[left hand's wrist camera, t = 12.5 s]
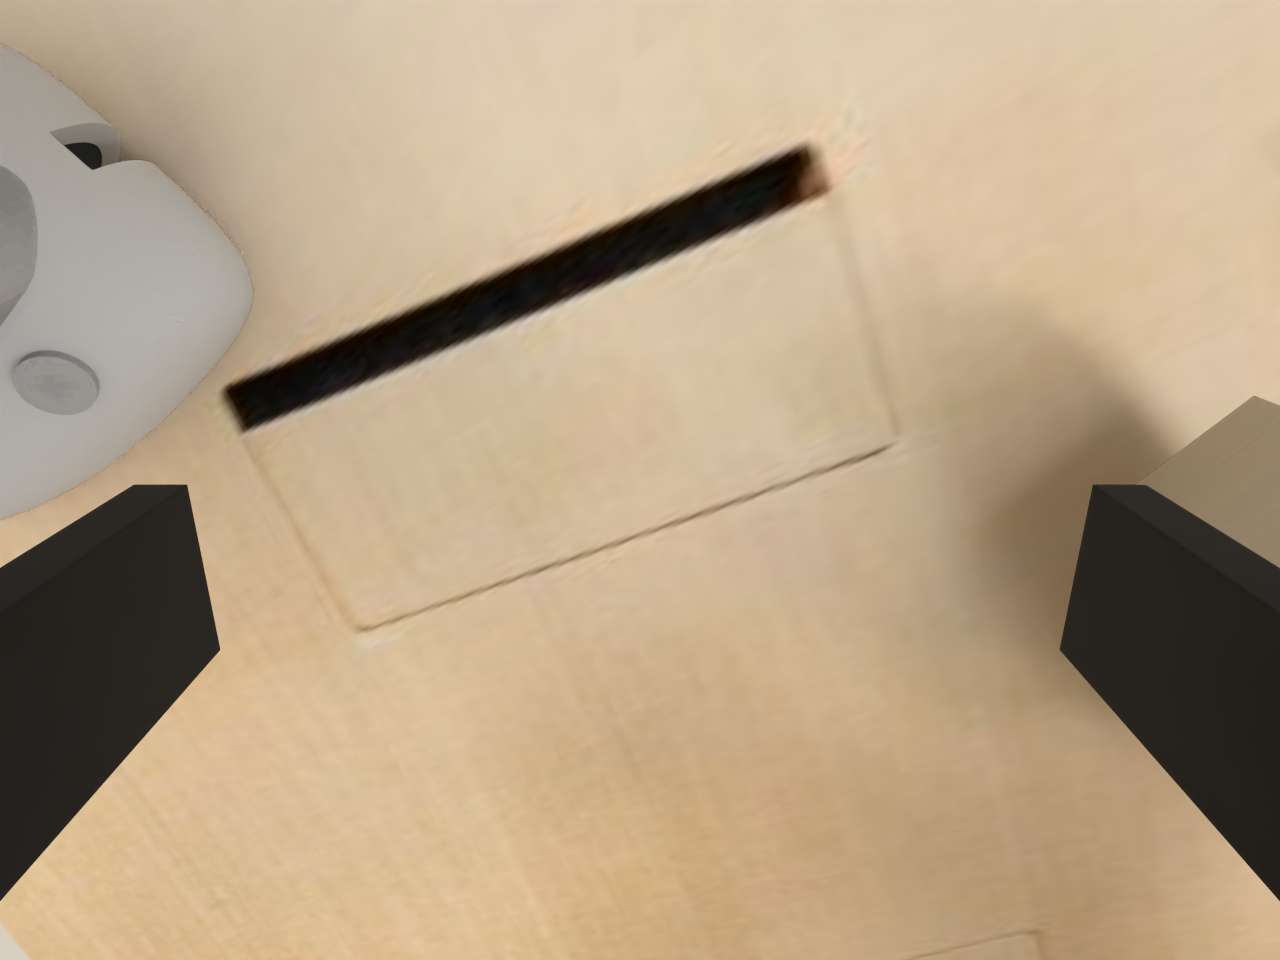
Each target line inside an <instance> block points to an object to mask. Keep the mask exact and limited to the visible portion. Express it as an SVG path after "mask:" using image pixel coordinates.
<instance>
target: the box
mask: <svg viewBox="0 0 1280 960" xmlns="http://www.w3.org/2000/svg"><path fill="white" fill-rule="evenodd" d="M1135 485H1147V486H1149V487H1150V488H1152V489H1154V490H1155V491H1157V492H1158V493H1160V494H1162V495H1163V496H1165V497H1166V498H1168V499H1170V500H1171V501H1173V502H1174V503H1176V504H1178V505H1179V506H1181V507H1183V508H1184V509H1186V510H1187V511H1189V512H1191V513H1192V514H1194V515H1195V516H1197V517H1199V518H1200V519H1202V520H1203V521H1205V522H1207V523H1208V524H1210V525H1211V526H1213V527H1215V528H1216V529H1218V530H1220V531H1221V532H1223V533H1224V534H1226V535H1228V536H1229V537H1231V538H1232V539H1234V540H1236V541H1237V542H1239V543H1240V544H1242V545H1244V546H1245V547H1247V548H1249V549H1250V550H1252V551H1253V552H1255V553H1257V554H1258V555H1260V556H1261V557H1263V558H1265V559H1266V560H1268V561H1269V562H1271V563H1273V564H1274V565H1276V566H1277V567H1279V568H1280V406H1279V405H1277V404H1274V403H1272V402H1269V401H1266V400H1264V399H1261V398H1259V397H1256V396H1253V397H1252V398H1250V399H1249V400H1248V401H1246V402H1245V403H1244V404H1242V405H1241V406H1240V407H1238V408H1237V409H1235V410H1234V411H1233V412H1231V413H1230V414H1229V415H1227V416H1226V417H1225V418H1223V419H1222V420H1221V421H1219V422H1218V423H1217V424H1215V425H1214V426H1213V427H1211V428H1210V429H1209V430H1207V431H1206V432H1205V433H1203V434H1202V435H1201V436H1199V437H1198V438H1197V439H1195V440H1194V441H1193V442H1191V443H1190V444H1189V445H1187V446H1186V447H1185V448H1183V449H1182V450H1181V451H1179V452H1178V453H1177V454H1175V455H1174V456H1173V457H1171V458H1170V459H1169V460H1167V461H1166V462H1165V463H1163V464H1162V465H1161V466H1159V467H1158V468H1157V469H1155V470H1154V471H1153V472H1151V473H1150V474H1149V475H1147V476H1146V477H1145V478H1143V479H1142V480H1141V481H1139V482H1138V483H1137V484H1135Z"/></svg>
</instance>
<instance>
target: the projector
mask: <svg viewBox="0 0 1280 960" xmlns="http://www.w3.org/2000/svg"><path fill="white" fill-rule="evenodd" d="M120 153H121V139H120V136H119V133H118V131H117V130H116V129H115V128H114V127H113V126H112V125H111V124H110V123H108V122H107V121H106V120H105V119H104V118H103V117H102V116H100V115H99V114H98V113H97V112H96V111H95V110H94V109H92V108H91V107H90V106H89V105H88V104H87V103H85V102H84V101H83V100H82V99H81V98H80V97H78V96H77V95H76V94H75V93H74V92H73V91H71V90H70V89H69V88H68V87H66V86H65V85H64V84H63V83H61V82H60V81H59V80H58V79H56V78H55V77H54V76H53V75H51V74H50V73H49V72H47V71H46V70H45V69H43V68H42V67H40V66H39V65H37V64H36V63H35V62H33V61H32V60H30V59H28V58H27V57H25V56H23V55H22V54H20V53H18V52H16V51H15V50H13V49H11V48H9V47H7V46H4V45H2V44H0V520H3V519H6V518H10V517H12V516H15V515H17V514H20V513H22V512H25V511H28V510H30V509H32V508H35V507H37V506H39V505H41V504H43V503H46V502H48V501H50V500H52V499H54V498H56V497H58V496H60V495H62V494H64V493H66V492H67V491H69V490H71V489H73V488H75V487H76V486H78V485H80V484H82V483H83V482H85V481H86V480H88V479H90V478H91V477H93V476H94V475H96V474H97V473H99V472H101V471H102V470H104V469H105V468H106V467H108V466H109V465H110V464H112V463H113V462H114V461H116V460H117V459H118V458H120V457H121V456H122V455H124V454H125V453H127V452H128V451H129V450H130V449H132V448H133V447H134V446H135V445H136V444H137V443H139V442H140V441H141V440H142V439H143V438H144V437H145V436H147V435H148V434H149V433H150V432H151V431H152V430H154V429H155V428H156V427H157V426H158V425H159V424H160V423H161V422H162V421H163V420H164V419H165V418H166V417H167V416H168V415H169V414H171V413H172V412H173V411H174V410H175V409H176V408H177V407H178V406H179V405H180V404H181V403H182V401H183V400H184V399H185V398H186V397H187V396H188V395H189V394H190V393H191V392H192V391H193V390H194V389H195V388H196V387H197V386H198V384H199V383H200V382H201V381H202V380H203V379H204V378H205V376H206V375H207V374H208V373H209V372H210V371H211V370H212V368H213V367H214V366H215V365H216V364H217V362H218V361H219V360H220V359H221V357H222V356H223V355H224V354H225V352H226V351H227V350H228V348H229V347H230V346H231V344H232V343H233V341H234V340H235V338H236V337H237V335H238V334H239V332H240V331H241V329H242V327H243V325H244V323H245V321H246V320H247V318H248V315H249V312H250V310H251V306H252V301H253V285H252V280H251V277H250V274H249V271H248V268H247V266H246V264H245V262H244V260H243V258H242V256H241V254H240V253H239V251H238V249H237V248H236V246H235V245H234V244H233V243H232V241H231V240H230V239H229V237H228V236H227V235H226V234H225V233H224V232H223V231H222V229H221V228H220V227H219V226H218V225H217V224H216V223H215V222H214V221H213V219H212V218H211V217H210V216H209V215H208V214H207V213H206V212H205V211H204V210H203V209H202V208H201V207H200V206H199V205H198V204H197V203H196V202H195V201H194V200H193V199H192V198H191V197H189V196H188V195H187V194H186V193H185V192H184V191H183V190H182V189H181V188H180V187H179V186H178V185H177V184H176V183H175V182H174V181H172V180H171V179H170V178H169V177H168V176H167V175H166V174H165V173H164V172H163V171H162V170H161V169H159V168H158V167H157V166H156V165H155V164H153V163H151V162H148V161H144V160H128V161H122V162H118V160H119V157H120Z"/></svg>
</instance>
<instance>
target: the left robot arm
mask: <svg viewBox="0 0 1280 960" xmlns="http://www.w3.org/2000/svg"><path fill="white" fill-rule="evenodd" d="M219 651H220V646H219V641H218V636H217V631H216V626H215V621H214V616H213V611H212V606H211V601H210V596H209V591H208V586H207V582H206V577H205V572H204V567H203V562H202V557H201V552H200V547H199V542H198V537H197V532H196V527H195V522H194V517H193V512H192V507H191V502H190V497H189V492H188V487H187V485H133V486H131V487H130V488H128V489H126V490H125V491H123V492H122V493H120V494H118V495H117V496H115V497H114V498H112V499H110V500H109V501H107V502H106V503H104V504H102V505H101V506H99V507H97V508H96V509H94V510H93V511H91V512H89V513H88V514H86V515H85V516H83V517H81V518H80V519H78V520H77V521H75V522H73V523H72V524H70V525H69V526H67V527H65V528H64V529H62V530H60V531H59V532H57V533H56V534H54V535H52V536H51V537H49V538H48V539H46V540H44V541H43V542H41V543H40V544H38V545H36V546H35V547H33V548H31V549H30V550H28V551H27V552H25V553H23V554H22V555H20V556H19V557H17V558H15V559H14V560H12V561H11V562H9V563H7V564H6V565H4V566H3V567H1V568H0V901H1V900H2V898H3V897H4V896H5V895H6V894H7V893H8V892H9V890H10V889H11V888H12V887H13V886H14V885H15V884H16V882H17V881H18V880H19V879H20V878H21V877H22V876H23V874H24V873H25V872H26V871H27V870H28V869H29V868H30V866H31V865H32V864H33V863H34V862H35V861H36V860H37V858H38V857H39V856H40V855H41V854H42V853H43V852H44V850H45V849H46V848H47V847H48V846H49V845H50V844H51V842H52V841H53V840H54V839H55V838H56V837H57V836H58V834H59V833H60V832H61V831H62V830H63V829H64V828H65V826H66V825H67V824H68V823H69V822H70V821H71V820H72V818H73V817H74V816H75V815H76V814H77V813H78V812H79V810H80V809H81V808H82V807H83V806H84V805H85V804H86V802H87V801H88V800H89V799H90V798H91V797H92V796H93V794H94V793H95V792H96V791H97V790H98V789H99V788H100V786H101V785H102V784H103V783H104V782H105V781H106V780H107V778H108V777H109V776H110V775H111V774H112V773H113V772H114V770H115V769H116V768H117V767H118V766H119V765H120V764H121V763H122V761H123V760H124V759H125V758H126V757H127V756H128V755H129V753H130V752H131V751H132V750H133V749H134V748H135V747H136V745H137V744H138V743H139V742H140V741H141V740H142V739H143V737H144V736H145V735H146V734H147V733H148V732H149V731H150V729H151V728H152V727H153V726H154V725H155V724H156V723H157V721H158V720H159V719H160V718H161V717H162V716H163V715H164V713H165V712H166V711H167V710H168V709H169V708H170V707H171V705H172V704H173V703H174V702H175V701H176V700H177V699H178V697H179V696H180V695H181V694H182V693H183V692H184V691H185V689H186V688H187V687H188V686H189V685H190V684H191V683H192V681H193V680H194V679H195V678H196V677H197V676H198V675H199V673H200V672H201V671H202V670H203V669H204V668H205V667H206V665H207V664H208V663H209V662H210V661H211V660H212V659H213V657H214V656H215V655H216V654H217V653H218V652H219ZM1060 651H1061V652H1062V653H1063V654H1064V655H1065V656H1066V657H1067V659H1068V660H1069V661H1070V662H1071V663H1072V664H1073V665H1074V667H1075V668H1076V669H1077V670H1078V671H1079V672H1080V673H1081V675H1082V676H1083V677H1084V678H1085V679H1086V680H1087V681H1088V683H1089V684H1090V685H1091V686H1092V687H1093V688H1094V689H1095V691H1096V692H1097V693H1098V694H1099V695H1100V696H1101V697H1102V699H1103V700H1104V701H1105V702H1106V703H1107V704H1108V705H1109V707H1110V708H1111V709H1112V710H1113V711H1114V712H1115V713H1116V715H1117V716H1118V717H1119V718H1120V719H1121V720H1122V721H1123V723H1124V724H1125V725H1126V726H1127V727H1128V728H1129V729H1130V731H1131V732H1132V733H1133V734H1134V735H1135V736H1136V737H1137V739H1138V740H1139V741H1140V742H1141V743H1142V744H1143V745H1144V747H1145V748H1146V749H1147V750H1148V751H1149V752H1150V753H1151V755H1152V756H1153V757H1154V758H1155V759H1156V760H1157V761H1158V763H1159V764H1160V765H1161V766H1162V767H1163V768H1164V769H1165V770H1166V772H1167V773H1168V774H1169V775H1170V776H1171V777H1172V778H1173V780H1174V781H1175V782H1176V783H1177V784H1178V785H1179V786H1180V788H1181V789H1182V790H1183V791H1184V792H1185V793H1186V794H1187V796H1188V797H1189V798H1190V799H1191V800H1192V801H1193V802H1194V804H1195V805H1196V806H1197V807H1198V808H1199V809H1200V810H1201V812H1202V813H1203V814H1204V815H1205V816H1206V817H1207V818H1208V820H1209V821H1210V822H1211V823H1212V824H1213V825H1214V826H1215V828H1216V829H1217V830H1218V831H1219V832H1220V833H1221V834H1222V836H1223V837H1224V838H1225V839H1226V840H1227V841H1228V842H1229V844H1230V845H1231V846H1232V847H1233V848H1234V849H1235V850H1236V852H1237V853H1238V854H1239V855H1240V856H1241V857H1242V858H1243V860H1244V861H1245V862H1246V863H1247V864H1248V865H1249V866H1250V868H1251V869H1252V870H1253V871H1254V872H1255V873H1256V874H1257V876H1258V877H1259V878H1260V879H1261V880H1262V881H1263V882H1264V884H1265V885H1266V886H1267V887H1268V888H1269V889H1270V890H1271V892H1272V893H1273V894H1274V895H1275V896H1276V897H1277V898H1278V900H1279V901H1280V568H1279V567H1277V566H1276V565H1274V564H1273V563H1271V562H1269V561H1268V560H1266V559H1265V558H1263V557H1261V556H1260V555H1258V554H1257V553H1255V552H1253V551H1252V550H1250V549H1249V548H1247V547H1245V546H1244V545H1242V544H1240V543H1239V542H1237V541H1236V540H1234V539H1232V538H1231V537H1229V536H1228V535H1226V534H1224V533H1223V532H1221V531H1220V530H1218V529H1216V528H1215V527H1213V526H1211V525H1210V524H1208V523H1207V522H1205V521H1203V520H1202V519H1200V518H1199V517H1197V516H1195V515H1194V514H1192V513H1191V512H1189V511H1187V510H1186V509H1184V508H1183V507H1181V506H1179V505H1178V504H1176V503H1174V502H1173V501H1171V500H1170V499H1168V498H1166V497H1165V496H1163V495H1162V494H1160V493H1158V492H1157V491H1155V490H1154V489H1152V488H1150V487H1149V486H1147V485H1093V487H1092V492H1091V497H1090V502H1089V507H1088V512H1087V517H1086V522H1085V527H1084V532H1083V537H1082V542H1081V547H1080V552H1079V557H1078V562H1077V567H1076V572H1075V577H1074V582H1073V586H1072V591H1071V596H1070V601H1069V606H1068V611H1067V616H1066V621H1065V626H1064V631H1063V636H1062V641H1061V646H1060Z"/></svg>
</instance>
